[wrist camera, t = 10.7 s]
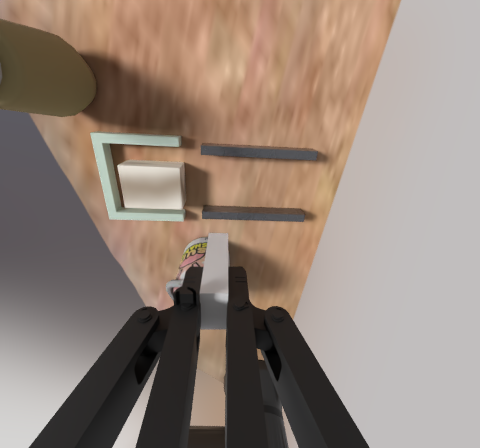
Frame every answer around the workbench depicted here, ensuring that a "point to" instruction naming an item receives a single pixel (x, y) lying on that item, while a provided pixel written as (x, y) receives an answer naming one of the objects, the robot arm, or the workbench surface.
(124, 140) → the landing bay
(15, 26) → the squeeze bottle
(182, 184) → the block
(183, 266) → the beverage can
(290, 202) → the workbench surface
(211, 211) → the chute
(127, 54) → the workbench surface
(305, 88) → the workbench surface
